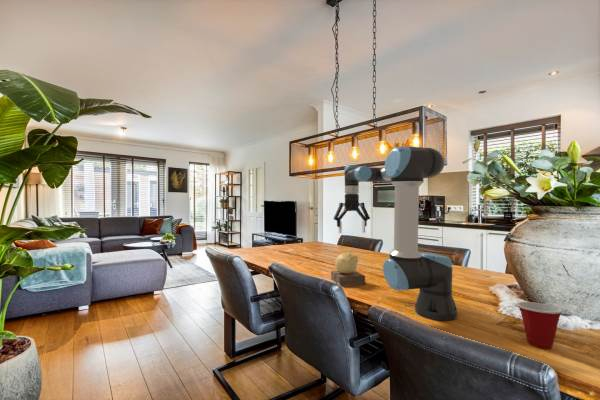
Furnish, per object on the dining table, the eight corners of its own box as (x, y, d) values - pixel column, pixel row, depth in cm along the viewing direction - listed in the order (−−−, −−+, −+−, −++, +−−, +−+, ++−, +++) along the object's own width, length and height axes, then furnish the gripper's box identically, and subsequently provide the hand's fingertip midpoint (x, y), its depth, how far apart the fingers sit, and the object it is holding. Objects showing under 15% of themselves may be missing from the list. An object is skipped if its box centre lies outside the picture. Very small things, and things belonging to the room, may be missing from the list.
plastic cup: (544, 336, 92) (544, 299, 92) (573, 354, 82) (573, 312, 82) (509, 335, 93) (508, 298, 93) (532, 352, 83) (532, 311, 83)
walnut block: (365, 285, 150) (365, 275, 150) (340, 287, 147) (340, 277, 147) (354, 278, 164) (354, 269, 164) (331, 280, 160) (331, 271, 160)
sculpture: (351, 276, 148) (348, 256, 147) (332, 274, 156) (330, 254, 155) (362, 269, 156) (359, 250, 156) (343, 267, 164) (341, 249, 164)
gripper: (369, 194, 161) (369, 231, 161) (327, 194, 156) (327, 232, 155) (375, 193, 154) (376, 232, 153) (332, 193, 148) (332, 234, 148)
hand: (351, 232), depth 154 cm, fingers open, 13 cm apart
